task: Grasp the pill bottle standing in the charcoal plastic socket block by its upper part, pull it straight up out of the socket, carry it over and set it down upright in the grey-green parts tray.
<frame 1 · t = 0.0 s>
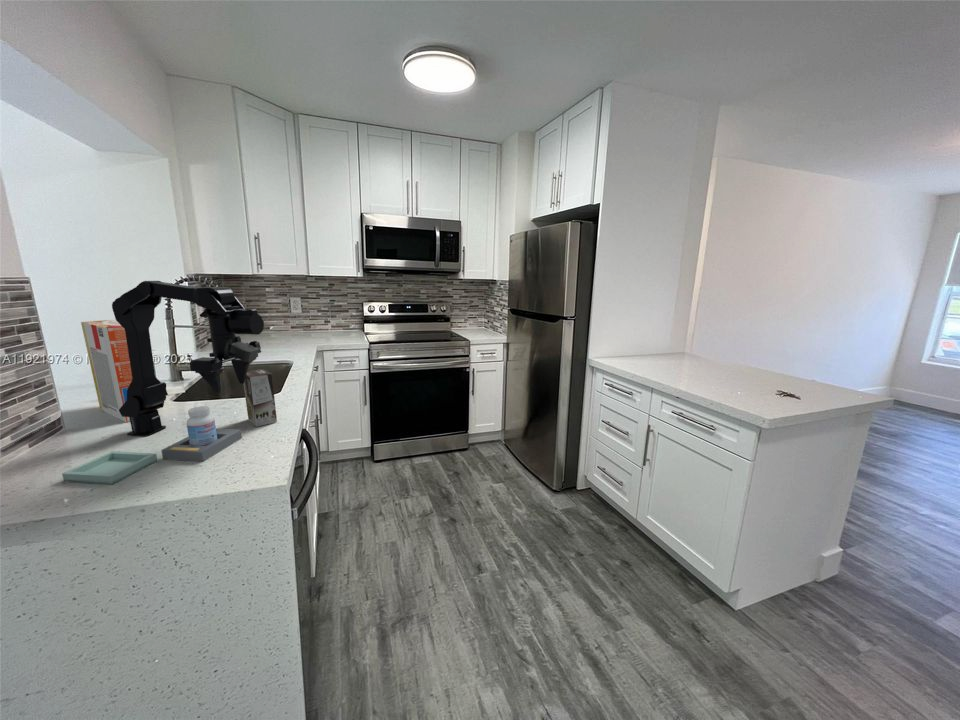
hand: (230, 388, 107), 15 cm above the countertop, fingers open, 9 cm apart
coffee box: (262, 421, 122), on the countertop
orange cereal box: (128, 412, 127), on the countertop
pill bottle: (205, 448, 103), resting in socket block
socket block: (204, 447, 102), on the countertop
parts tray: (113, 470, 90), on the countertop
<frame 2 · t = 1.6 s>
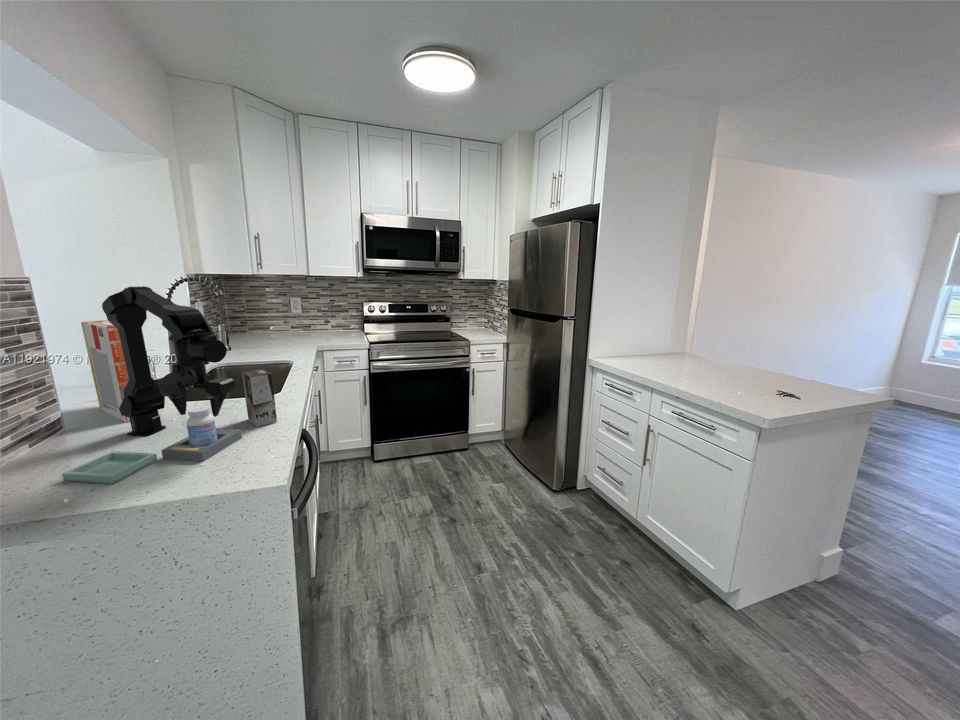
hand: (199, 415, 100), 9 cm above the countertop, fingers open, 9 cm apart
nothing on the countertop moved.
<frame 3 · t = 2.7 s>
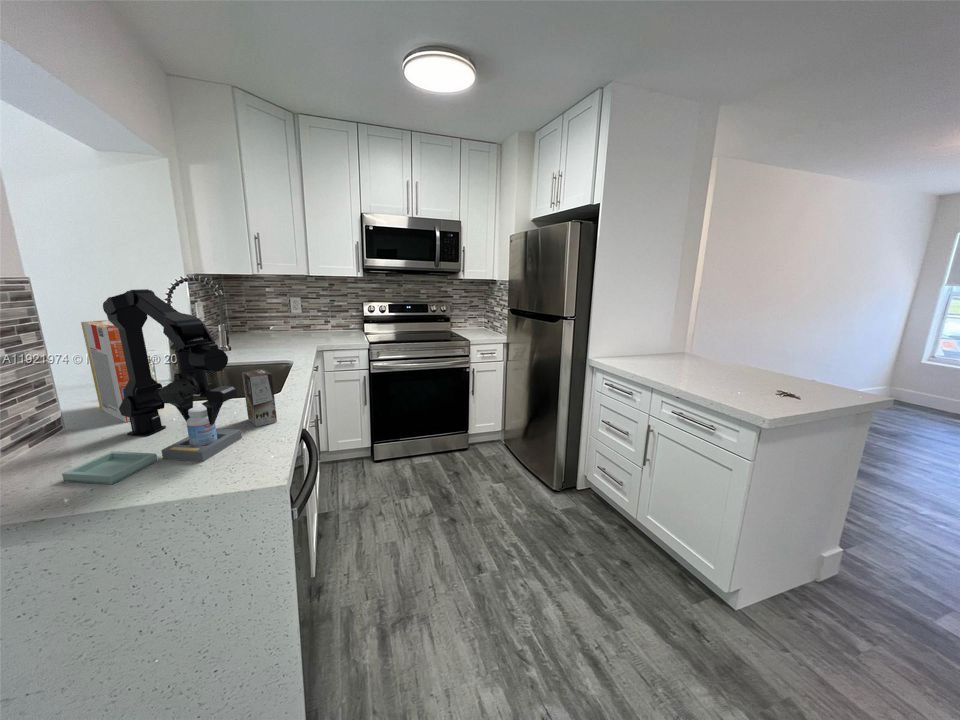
hand: (201, 423, 101), 7 cm above the countertop, fingers closed on pill bottle, 6 cm apart
pill bottle: (205, 448, 103), resting in socket block, touching gripper
everything else where it was.
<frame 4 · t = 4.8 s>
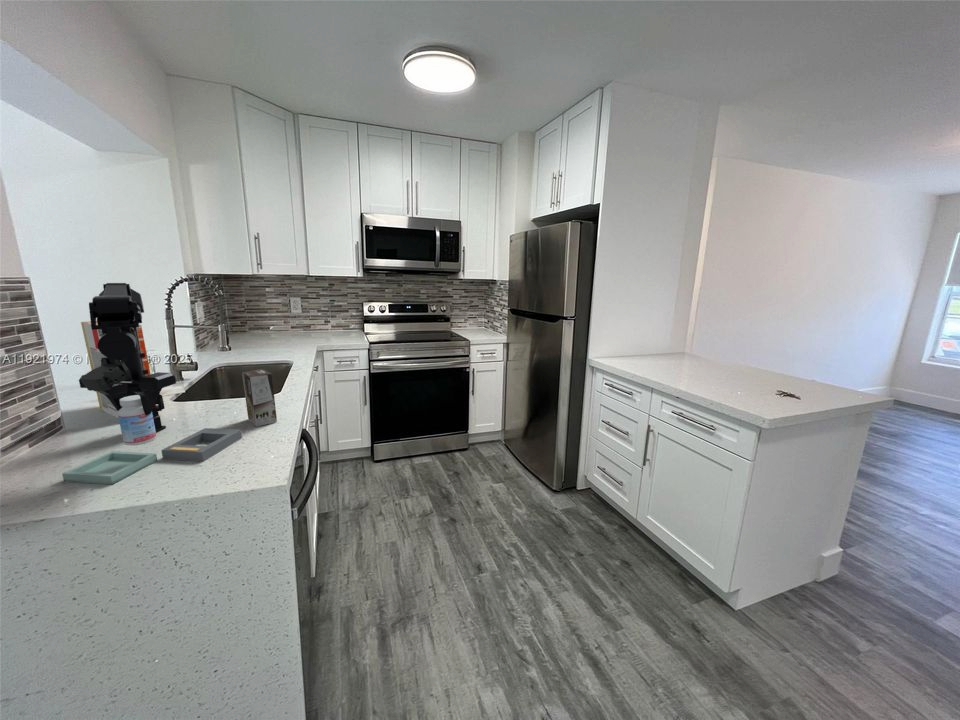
hand: (135, 414, 91), 13 cm above the countertop, fingers closed on pill bottle, 6 cm apart
pill bottle: (141, 441, 93), point 6 cm above the countertop, touching gripper
everything else where it was.
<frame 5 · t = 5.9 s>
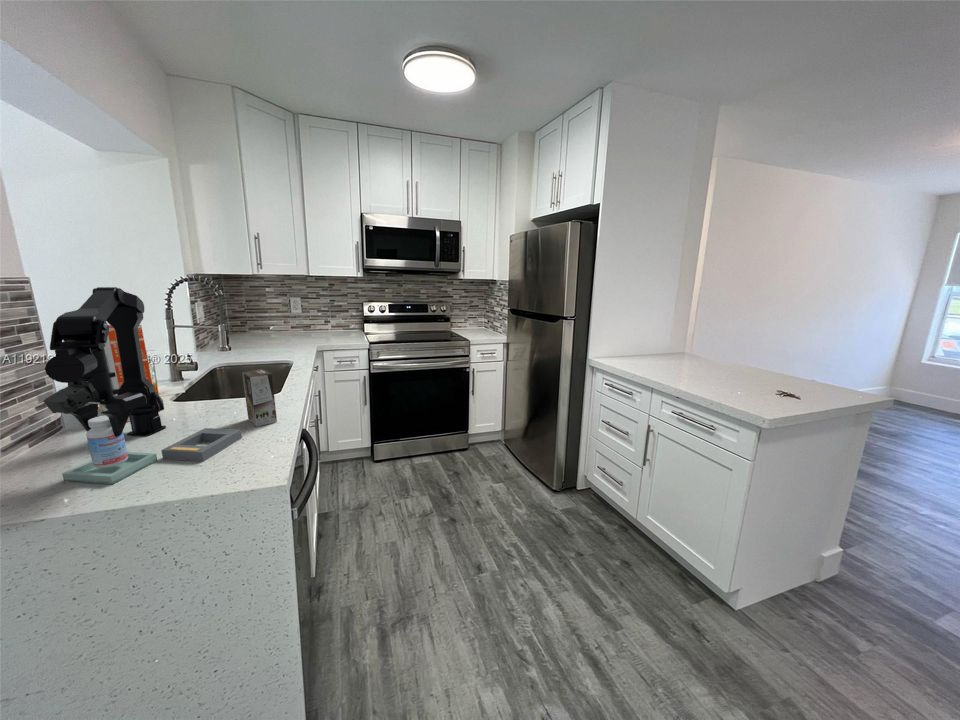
hand: (105, 435, 88), 9 cm above the countertop, fingers closed on pill bottle, 6 cm apart
pill bottle: (111, 463, 90), point 2 cm above the countertop, touching gripper
everything else where it was.
when the fingers open (8 cm above the countertop, at t = 6.9 s): pill bottle stays where it is, resting on parts tray.
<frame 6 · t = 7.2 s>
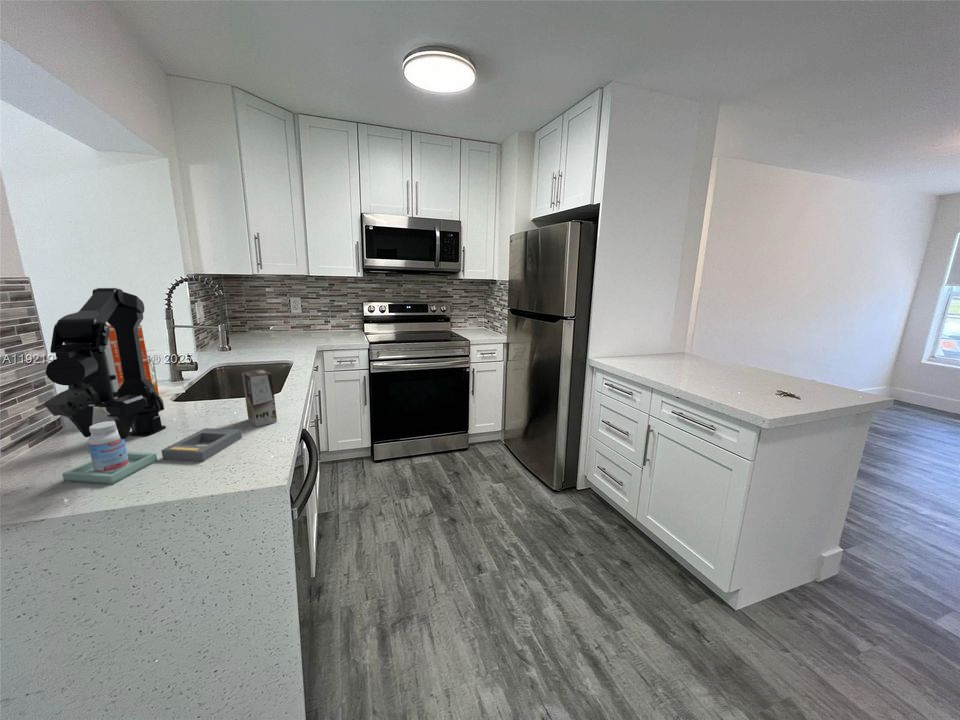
hand: (106, 437, 88), 8 cm above the countertop, fingers open, 9 cm apart
pill bottle: (112, 469, 90), resting on parts tray
everything else where it was.
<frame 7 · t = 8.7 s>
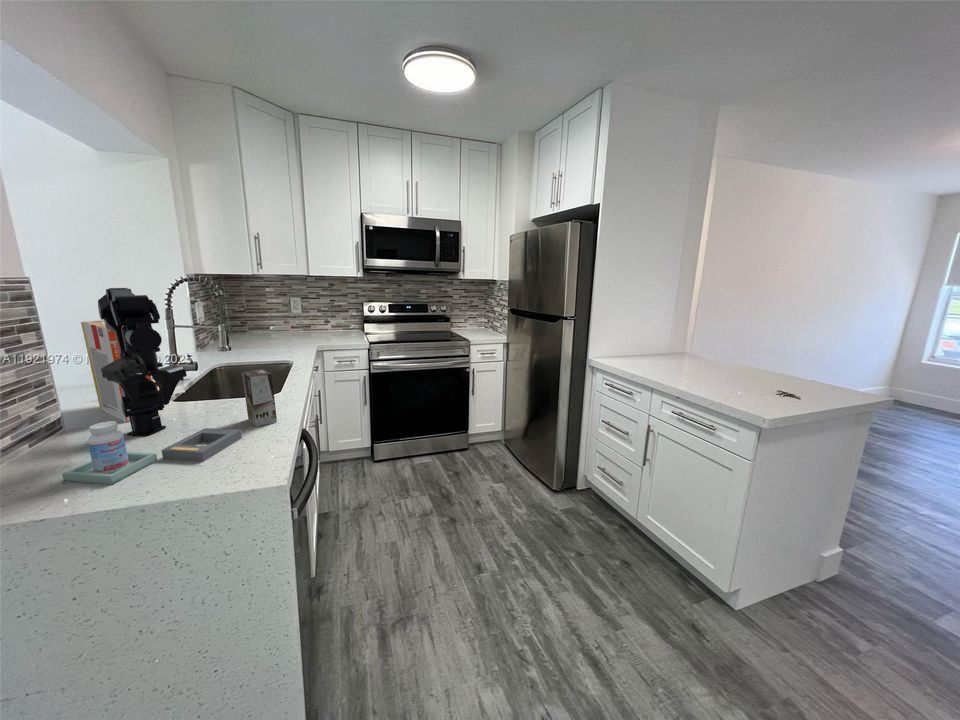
hand: (150, 403, 99), 13 cm above the countertop, fingers open, 9 cm apart
nothing on the countertop moved.
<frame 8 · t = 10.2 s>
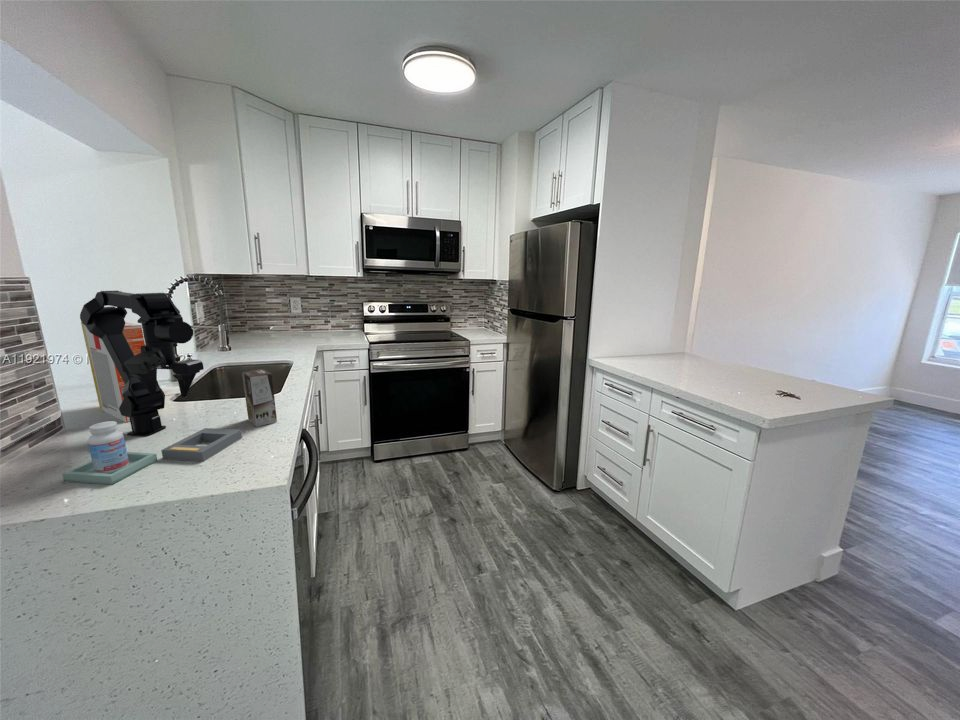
hand: (168, 395, 104), 13 cm above the countertop, fingers open, 9 cm apart
nothing on the countertop moved.
at the end: pill bottle inside the target area on the parts tray (0.1 cm from its centre), point 0.3 cm above the parts tray's base; pill bottle tilted 0°; the gripper is holding nothing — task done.
